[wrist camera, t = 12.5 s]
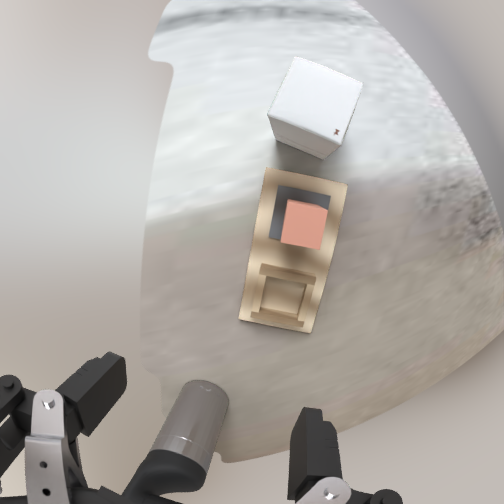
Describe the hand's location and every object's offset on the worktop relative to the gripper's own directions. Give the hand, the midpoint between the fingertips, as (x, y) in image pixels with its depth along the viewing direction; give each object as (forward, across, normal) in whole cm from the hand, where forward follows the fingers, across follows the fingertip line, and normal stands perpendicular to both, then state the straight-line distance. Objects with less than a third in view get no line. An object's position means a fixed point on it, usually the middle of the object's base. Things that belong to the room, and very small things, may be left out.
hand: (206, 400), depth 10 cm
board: (+29, -4, -1) cm, 29 cm away
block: (+27, -4, -6) cm, 28 cm away
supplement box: (+28, -2, -19) cm, 34 cm away
